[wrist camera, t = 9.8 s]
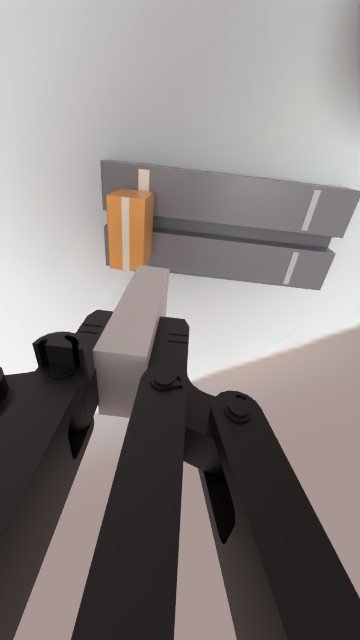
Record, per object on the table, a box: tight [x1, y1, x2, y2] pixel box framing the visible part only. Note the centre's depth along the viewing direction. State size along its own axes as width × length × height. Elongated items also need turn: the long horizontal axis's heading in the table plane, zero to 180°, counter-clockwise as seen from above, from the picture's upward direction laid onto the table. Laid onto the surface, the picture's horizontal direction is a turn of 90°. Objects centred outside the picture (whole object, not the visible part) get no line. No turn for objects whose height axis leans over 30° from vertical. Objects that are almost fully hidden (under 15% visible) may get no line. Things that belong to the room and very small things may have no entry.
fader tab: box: [106, 188, 154, 271], centre depth 25 cm, size 6×3×7 cm, turn 174°
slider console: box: [100, 160, 360, 290], centre depth 28 cm, size 10×24×3 cm, turn 84°
